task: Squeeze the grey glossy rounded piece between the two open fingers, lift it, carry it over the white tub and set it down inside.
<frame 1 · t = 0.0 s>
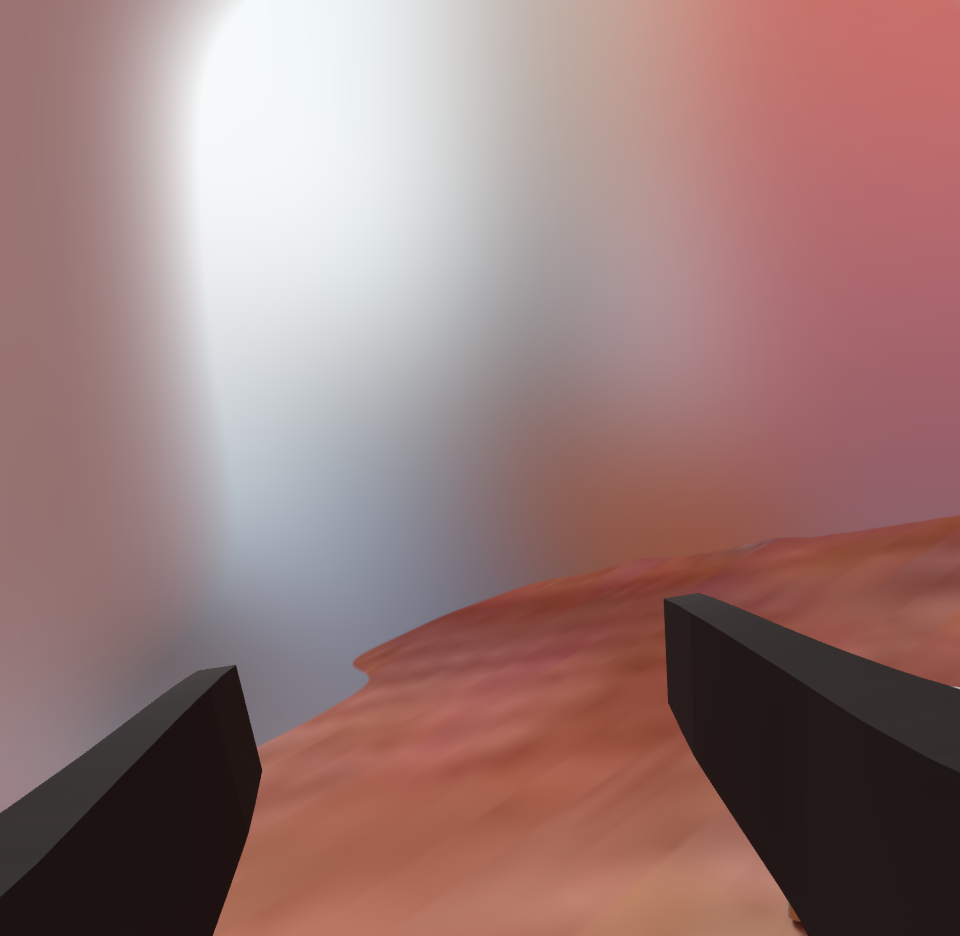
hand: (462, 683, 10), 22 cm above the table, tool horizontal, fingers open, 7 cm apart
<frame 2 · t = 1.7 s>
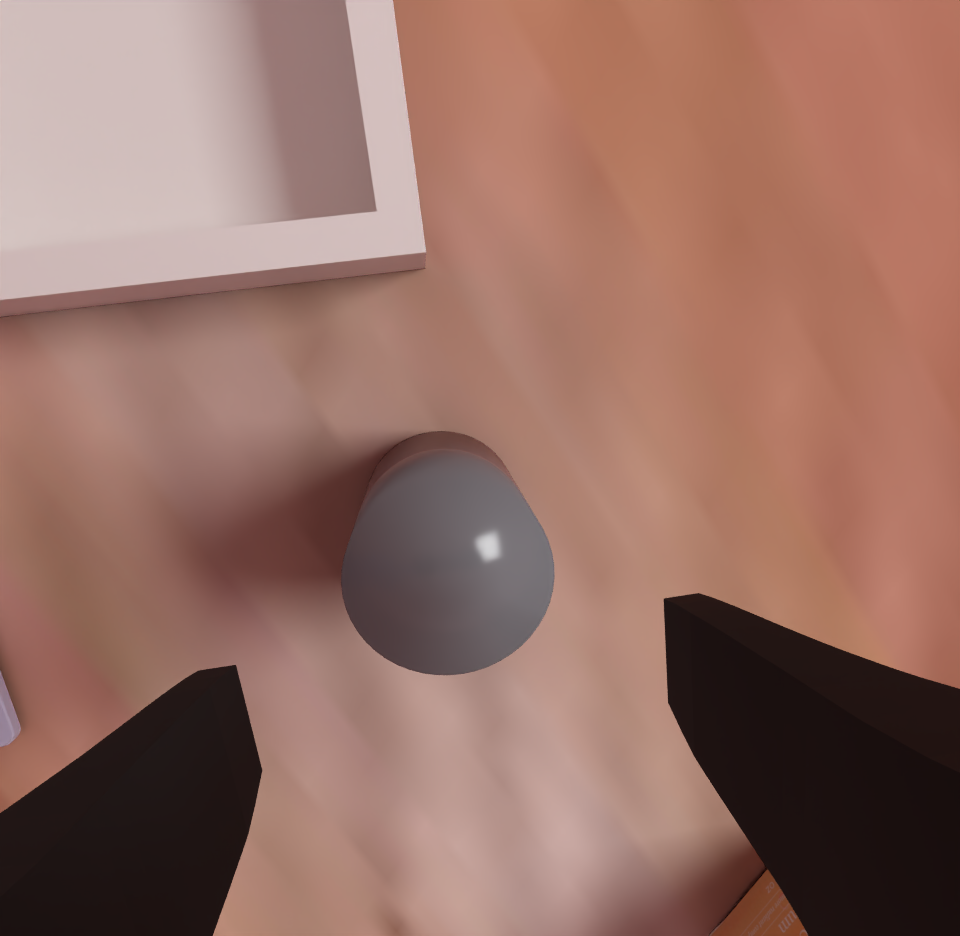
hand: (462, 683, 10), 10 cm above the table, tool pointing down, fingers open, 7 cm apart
white tub: (111, 45, 16), on the table
grey glossy rounded piece: (441, 504, 19), on the table
small box: (797, 895, 25), on the table
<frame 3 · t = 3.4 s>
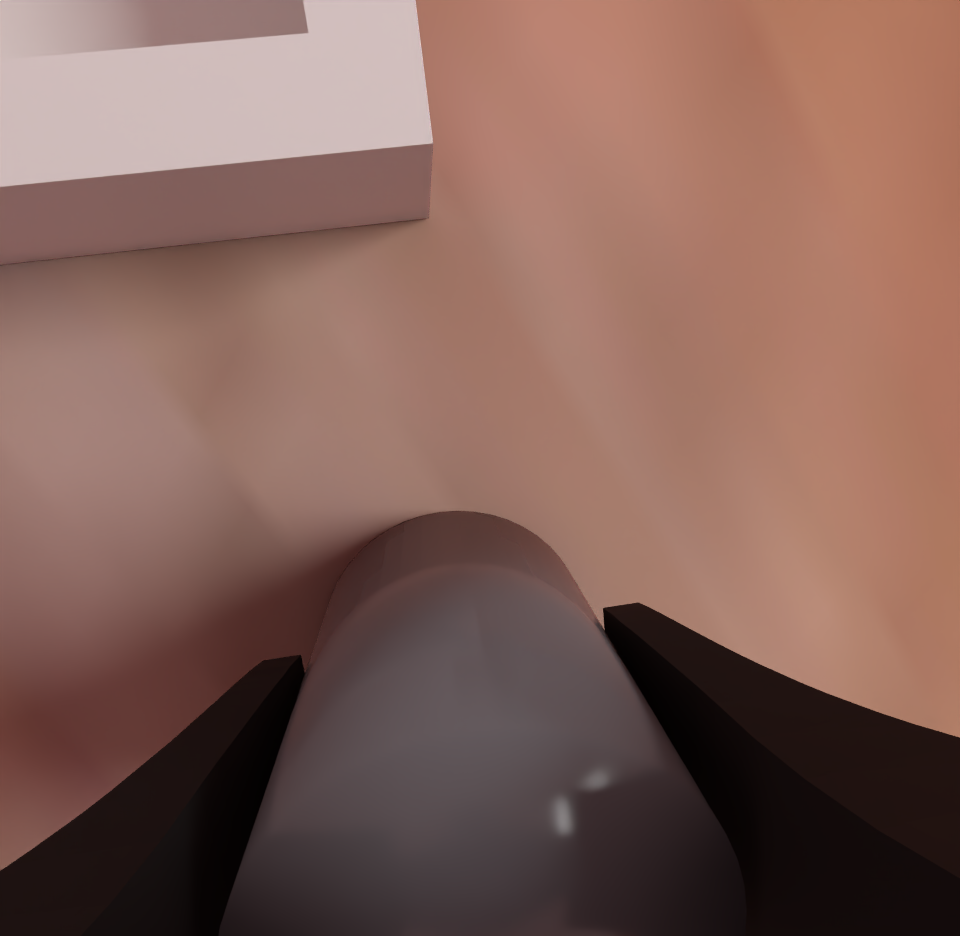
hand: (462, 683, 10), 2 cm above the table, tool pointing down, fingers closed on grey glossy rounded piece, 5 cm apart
grey glossy rounded piece: (456, 634, 11), on the table, touching gripper
when the fingers open (4 cm above the table, at t = 7.5 s): grey glossy rounded piece drops 1 cm, resting on white tub.
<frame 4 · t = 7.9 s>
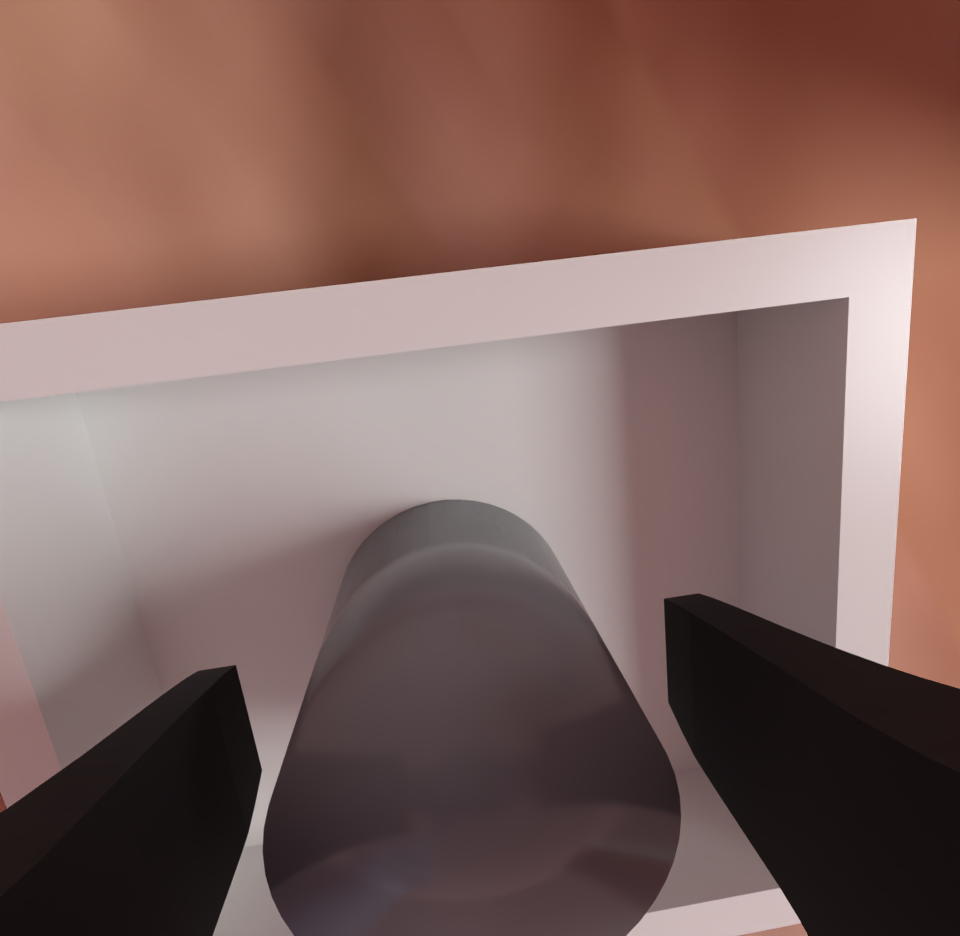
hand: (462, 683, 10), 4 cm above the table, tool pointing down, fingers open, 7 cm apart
white tub: (451, 583, 13), on the table
grey glossy rounded piece: (454, 608, 13), point 1 cm above the table, touching white tub
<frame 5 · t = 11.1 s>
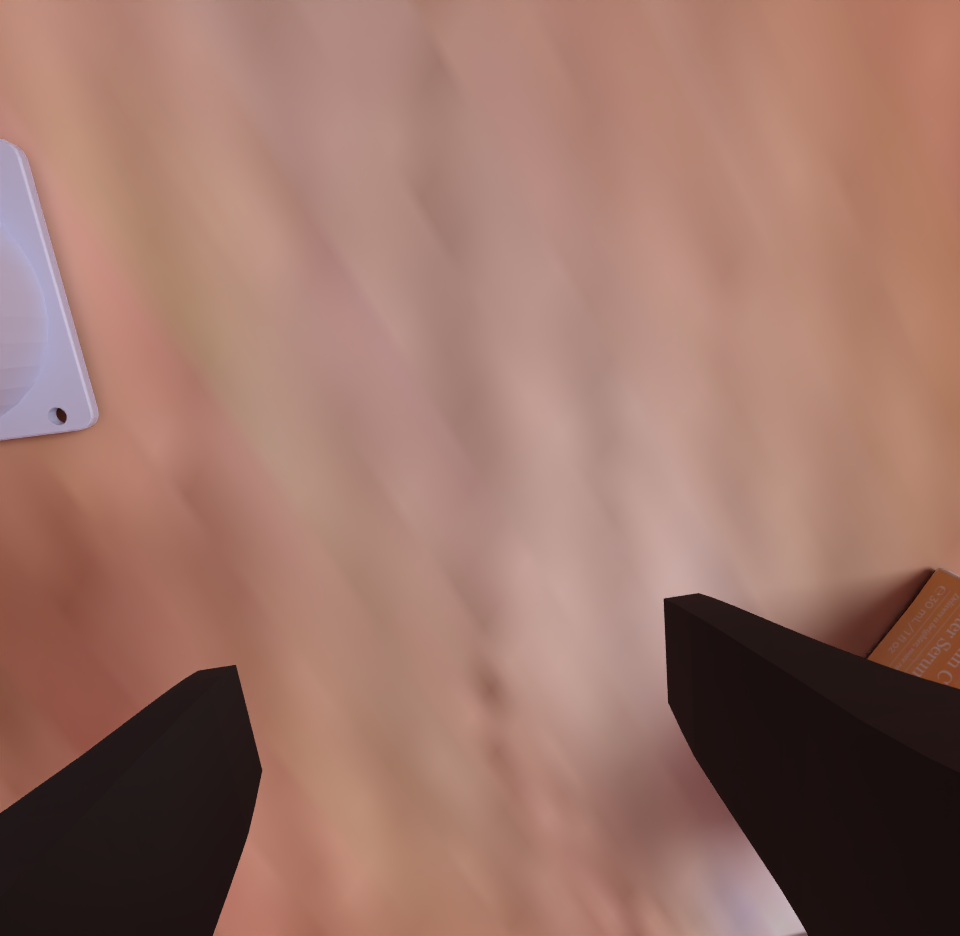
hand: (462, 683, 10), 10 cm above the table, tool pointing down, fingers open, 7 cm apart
small box: (914, 671, 24), on the table
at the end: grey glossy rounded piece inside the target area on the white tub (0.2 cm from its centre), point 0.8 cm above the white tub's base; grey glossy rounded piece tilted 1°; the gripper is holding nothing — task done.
